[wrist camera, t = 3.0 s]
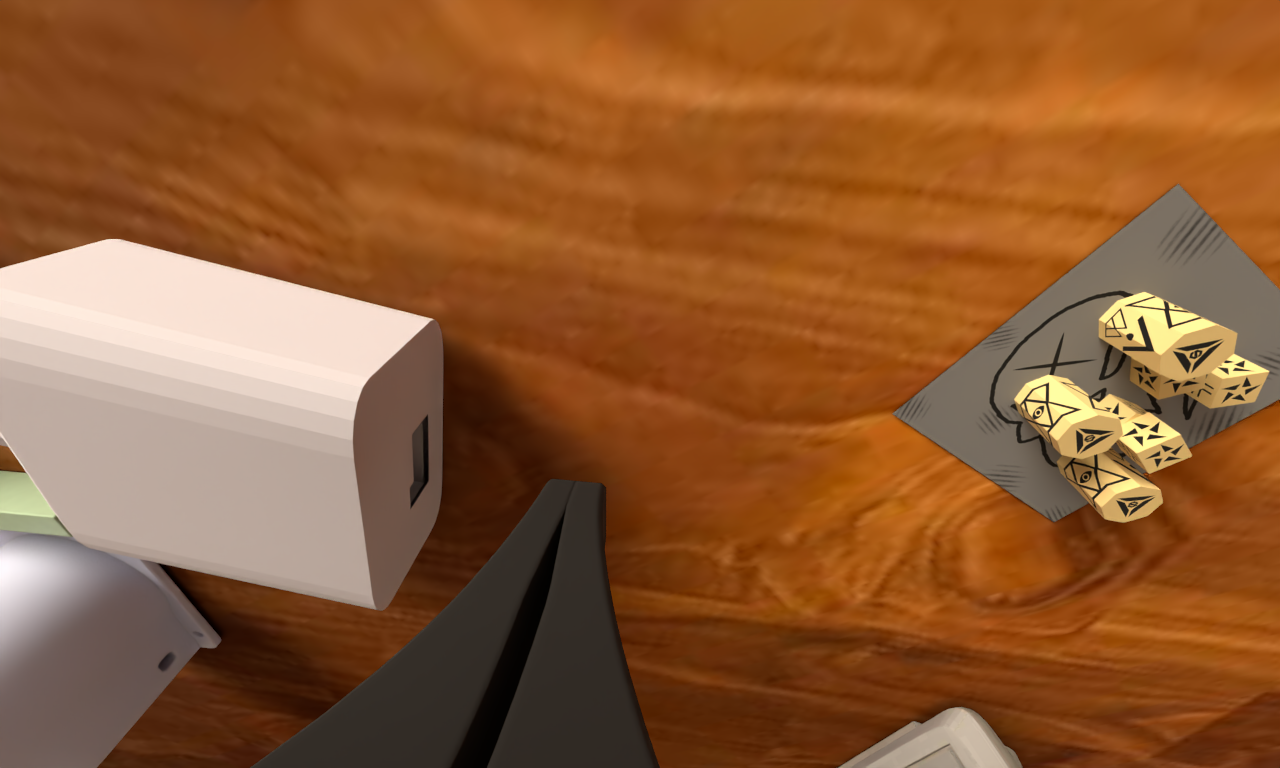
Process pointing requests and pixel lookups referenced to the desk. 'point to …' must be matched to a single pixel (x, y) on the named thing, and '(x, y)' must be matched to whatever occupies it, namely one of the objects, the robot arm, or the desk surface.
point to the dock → (26, 507)
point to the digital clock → (940, 745)
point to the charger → (224, 418)
